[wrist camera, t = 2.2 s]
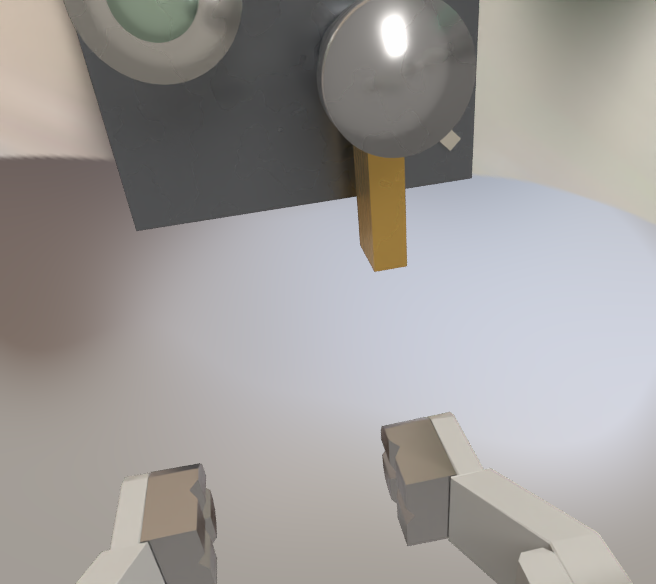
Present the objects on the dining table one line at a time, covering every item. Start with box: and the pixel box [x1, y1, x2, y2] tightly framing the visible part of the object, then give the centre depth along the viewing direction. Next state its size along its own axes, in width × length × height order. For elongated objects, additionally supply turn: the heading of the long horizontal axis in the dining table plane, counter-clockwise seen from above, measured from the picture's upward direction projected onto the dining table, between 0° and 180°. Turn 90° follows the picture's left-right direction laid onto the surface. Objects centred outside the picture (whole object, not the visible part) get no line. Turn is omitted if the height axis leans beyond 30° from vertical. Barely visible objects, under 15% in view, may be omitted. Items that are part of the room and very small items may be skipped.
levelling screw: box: [316, 0, 476, 272], centre depth 24 cm, size 12×6×7 cm, turn 5°
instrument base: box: [64, 0, 479, 231], centre depth 24 cm, size 18×14×8 cm
